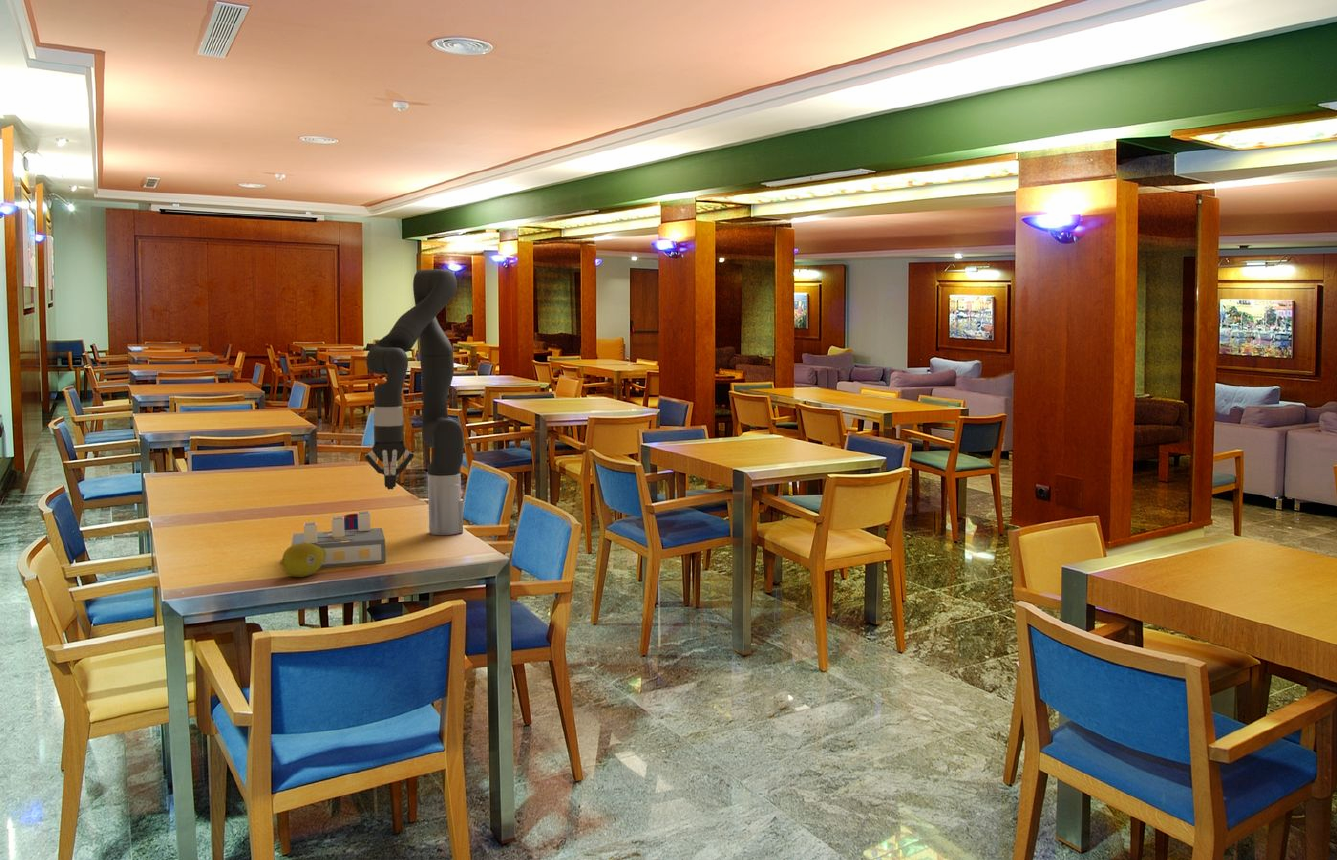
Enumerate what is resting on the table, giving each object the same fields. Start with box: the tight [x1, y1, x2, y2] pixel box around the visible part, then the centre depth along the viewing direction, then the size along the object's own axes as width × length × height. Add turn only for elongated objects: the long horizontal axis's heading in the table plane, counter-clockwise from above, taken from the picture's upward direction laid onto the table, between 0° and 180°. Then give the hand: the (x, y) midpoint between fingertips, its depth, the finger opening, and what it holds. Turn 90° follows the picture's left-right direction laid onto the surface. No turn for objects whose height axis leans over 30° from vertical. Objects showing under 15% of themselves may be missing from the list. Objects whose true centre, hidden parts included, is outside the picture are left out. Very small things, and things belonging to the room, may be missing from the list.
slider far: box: [357, 510, 371, 531], centre depth 256 cm, size 3×3×5 cm
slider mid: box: [331, 515, 345, 537], centre depth 249 cm, size 3×3×5 cm
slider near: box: [303, 521, 318, 543], centre depth 241 cm, size 3×3×5 cm
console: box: [290, 527, 387, 569], centre depth 249 cm, size 22×16×6 cm
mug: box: [343, 513, 358, 530], centre depth 273 cm, size 7×10×7 cm
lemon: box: [279, 543, 326, 578], centre depth 233 cm, size 11×8×8 cm
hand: (390, 488), depth 257 cm, fingers closed
